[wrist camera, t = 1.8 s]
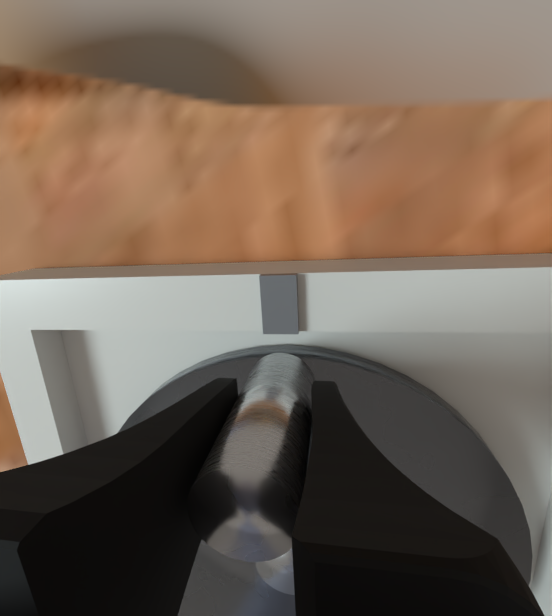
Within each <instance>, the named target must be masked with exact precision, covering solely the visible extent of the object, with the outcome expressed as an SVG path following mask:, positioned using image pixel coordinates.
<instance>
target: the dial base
mask: <svg viewBox="0 0 552 616" xmlns="http://www.w3.org/2000/svg"><path fill="white" fill-rule="evenodd" d="M277 345H293V346H308V347H319V348H324V349H330V350H335V351H340V352H346V353H349V354H353V355H356V356H359V357H362V358H365V359H369V360H372V361H375V362H378V363H380V364H382V365H385V366H387V367H389V368H391V369H394V370H396V371H398V372H400V373H402V374H405V375H407V376H409V377H410V378H412V379H413V380H415V381H417V382H418V383H420V384H422V385H423V386H425V387H427V388H428V389H430V390H432V391H433V392H435V393H436V394H437V395H438V396H440V397H441V398H442V399H443V400H445V401H446V402H447V403H448V404H450V405H451V406H452V407H453V408H455V409H456V410H457V411H458V412H459V413H460V414H461V415H462V416H463V417H464V418H465V419H466V420H467V421H468V422H469V423H470V424H471V425H472V427H473V428H474V429H475V430H476V431H477V432H478V433H479V434H480V436H481V437H482V439H483V440H484V441H485V443H486V444H487V446H488V447H489V448H490V450H491V451H492V453H493V454H494V456H495V457H496V459H497V460H498V462H499V463H500V465H501V466H502V468H503V470H504V471H505V473H506V474H507V476H508V477H509V479H510V481H511V483H512V485H513V487H514V489H515V491H516V493H517V495H518V497H519V499H520V501H521V503H522V505H523V509H524V512H525V516H526V519H527V522H528V526H529V529H530V536H531V546H532V555H533V557H532V568H531V580H530V583H529V588H530V589H531V591H532V593H533V594H534V596H535V598H536V600H537V602H538V604H539V606H540V608H541V610H542V612H543V614H544V616H552V253H539V254H506V255H472V256H439V257H405V258H372V259H338V260H305V261H271V262H238V263H204V264H170V265H137V266H103V267H70V268H36V269H29V270H24V271H19V272H14V273H9V274H4V275H0V372H1V375H2V379H3V382H4V385H5V389H6V392H7V395H8V399H9V402H10V405H11V409H12V412H13V415H14V419H15V422H16V425H17V429H18V432H19V435H20V439H21V442H22V445H23V449H24V452H25V455H26V459H27V462H28V465H30V464H33V463H37V462H40V461H43V460H47V459H50V458H53V457H56V456H59V455H62V454H65V453H68V452H71V451H74V450H76V449H79V448H82V447H84V446H87V445H90V444H92V443H95V442H98V441H100V440H103V439H105V438H108V437H110V436H113V435H115V434H117V433H118V431H119V430H120V429H121V427H122V426H123V425H124V423H125V422H126V420H127V419H128V418H129V416H130V415H131V414H132V413H133V412H134V411H135V410H136V409H137V408H138V407H139V406H140V405H141V404H142V403H143V402H144V401H145V400H146V399H147V398H148V397H149V396H150V395H151V394H152V393H153V392H154V391H155V390H156V389H158V388H159V387H160V386H161V385H162V384H163V383H165V382H166V381H168V380H169V379H170V378H172V377H173V376H175V375H176V374H178V373H179V372H181V371H183V370H185V369H187V368H189V367H191V366H193V365H195V364H197V363H199V362H201V361H203V360H206V359H209V358H212V357H215V356H218V355H221V354H224V353H227V352H231V351H236V350H241V349H247V348H252V347H260V346H277Z"/></svg>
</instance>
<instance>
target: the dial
mask: <svg viewBox="0 0 552 616" xmlns="http://www.w3.org/2000/svg"><path fill="white" fill-rule="evenodd" d="M217 378H237V387H238V398H237V400H236V402H235V404H234V406H233V408H232V409H231V411H230V413H229V415H228V417H227V419H226V421H225V423H224V425H223V427H222V429H221V431H220V433H219V435H218V437H217V439H216V441H215V443H214V445H213V447H212V449H211V451H210V453H209V454H208V456H207V458H206V460H205V462H204V464H203V466H202V468H201V470H200V472H199V474H198V476H197V478H196V480H195V482H194V484H193V486H192V488H191V490H190V492H189V494H188V499H187V513H188V517H189V520H190V522H191V524H192V526H193V528H194V530H195V531H196V533H197V534H198V535H199V536H200V538H201V539H202V540H201V542H200V545H199V548H198V551H197V554H196V557H195V561H194V564H193V567H192V570H191V573H190V576H189V579H188V583H187V586H186V589H185V593H184V596H183V599H182V603H181V606H180V609H179V613H178V616H296V612H295V593H294V574H293V556H292V537H291V536H292V532H293V529H294V525H295V521H296V517H297V513H298V510H299V506H300V502H301V498H302V493H303V488H304V483H305V478H306V473H307V467H308V462H309V456H310V449H311V443H312V402H311V388H312V384H313V381H334V382H335V383H336V384H337V387H338V390H339V392H340V395H341V397H342V399H343V401H344V403H345V404H346V406H347V408H348V409H349V411H350V413H351V414H352V416H353V417H354V419H355V420H356V422H357V423H358V425H359V426H360V427H361V429H362V430H363V431H364V433H365V434H366V435H367V437H368V438H369V439H370V440H371V442H372V443H373V444H374V445H375V446H376V447H377V448H378V450H379V451H380V452H381V453H382V454H383V455H384V456H385V457H386V458H387V459H388V460H389V461H390V462H391V463H392V464H393V465H394V466H395V467H396V468H397V469H398V470H400V471H401V472H402V473H403V474H404V475H405V476H407V477H408V478H409V479H410V480H411V481H412V482H414V483H415V484H416V485H417V486H419V487H420V488H421V489H422V490H424V491H425V492H426V493H428V494H429V495H431V496H432V497H433V498H435V499H436V500H438V501H439V502H440V503H442V504H443V505H444V506H446V507H447V508H449V509H450V510H452V511H453V512H455V513H457V514H458V515H460V516H462V517H463V518H465V519H466V520H468V521H470V522H471V523H473V524H474V525H476V526H478V527H479V528H481V529H483V530H484V531H486V532H487V533H489V534H491V535H492V536H494V537H496V538H497V539H498V540H499V541H500V542H501V544H502V545H503V547H504V549H505V550H506V552H507V553H508V555H509V556H510V558H511V559H512V561H513V562H514V564H515V565H516V567H517V568H518V570H519V572H520V573H521V575H522V576H523V578H524V580H525V581H526V583H527V584H528V586H529V583H530V580H531V568H532V557H533V555H532V546H531V536H530V529H529V526H528V522H527V519H526V516H525V512H524V509H523V505H522V503H521V501H520V499H519V497H518V495H517V493H516V491H515V489H514V487H513V485H512V483H511V481H510V479H509V477H508V476H507V474H506V473H505V471H504V470H503V468H502V466H501V465H500V463H499V462H498V460H497V459H496V457H495V456H494V454H493V453H492V451H491V450H490V448H489V447H488V446H487V444H486V443H485V441H484V440H483V439H482V437H481V436H480V434H479V433H478V432H477V431H476V430H475V429H474V428H473V427H472V425H471V424H470V423H469V422H468V421H467V420H466V419H465V418H464V417H463V416H462V415H461V414H460V413H459V412H458V411H457V410H456V409H455V408H453V407H452V406H451V405H450V404H448V403H447V402H446V401H445V400H443V399H442V398H441V397H440V396H438V395H437V394H436V393H435V392H433V391H432V390H430V389H428V388H427V387H425V386H423V385H422V384H420V383H418V382H417V381H415V380H413V379H412V378H410V377H409V376H407V375H405V374H402V373H400V372H398V371H396V370H394V369H391V368H389V367H387V366H385V365H382V364H380V363H378V362H375V361H372V360H369V359H365V358H362V357H359V356H356V355H353V354H349V353H346V352H340V351H335V350H330V349H324V348H319V347H308V346H293V345H277V346H260V347H252V348H247V349H241V350H236V351H231V352H227V353H224V354H221V355H218V356H215V357H212V358H209V359H206V360H203V361H201V362H199V363H197V364H195V365H193V366H191V367H189V368H187V369H185V370H183V371H181V372H179V373H178V374H176V375H175V376H173V377H172V378H170V379H169V380H168V381H166V382H165V383H163V384H162V385H161V386H160V387H159V388H158V389H156V390H155V391H154V392H153V393H152V394H151V395H150V396H149V397H148V398H147V399H146V400H145V401H144V402H143V403H142V404H141V405H140V406H139V407H138V408H137V409H136V410H135V411H134V412H133V413H132V414H131V415H130V416H129V418H128V419H127V420H126V422H125V423H124V425H123V426H122V427H121V429H120V430H119V431H118V433H119V432H121V431H124V430H126V429H128V428H130V427H132V426H134V425H136V424H138V423H140V422H142V421H144V420H146V419H148V418H150V417H152V416H153V415H155V414H157V413H159V412H161V411H162V410H164V409H166V408H168V407H170V406H171V405H173V404H175V403H176V402H178V401H180V400H181V399H183V398H185V397H186V396H188V395H190V394H191V393H193V392H194V391H196V390H198V389H199V388H201V387H203V386H204V385H206V384H208V383H209V382H211V381H213V380H215V379H217Z"/></svg>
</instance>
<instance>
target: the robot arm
mask: <svg viewBox="0 0 552 616" xmlns="http://www.w3.org/2000/svg"><path fill="white" fill-rule="evenodd" d="M237 398H238V387H237V378H217V379H215V380H213V381H211V382H209V383H208V384H206V385H204V386H203V387H201V388H199V389H198V390H196V391H194V392H193V393H191V394H190V395H188V396H186V397H185V398H183V399H181V400H180V401H178V402H176V403H175V404H173V405H171V406H170V407H168V408H166V409H164V410H162V411H161V412H159V413H157V414H155V415H153V416H152V417H150V418H148V419H146V420H144V421H142V422H140V423H138V424H136V425H134V426H132V427H130V428H128V429H126V430H124V431H121V432H119V433H117V434H115V435H113V436H110V437H108V438H105V439H103V440H100V441H98V442H95V443H92V444H90V445H87V446H84V447H82V448H79V449H76V450H74V451H71V452H68V453H65V454H62V455H59V456H56V457H53V458H50V459H47V460H43V461H40V462H37V463H33V464H30V465H26V466H23V467H19V468H15V469H12V470H8V471H4V472H0V616H178V613H179V609H180V606H181V603H182V599H183V596H184V593H185V589H186V586H187V583H188V579H189V576H190V573H191V570H192V567H193V564H194V561H195V557H196V554H197V551H198V548H199V545H200V542H201V540H202V539H201V538H200V536H199V535H198V534H197V533H196V531H195V530H194V528H193V526H192V524H191V522H190V520H189V517H188V513H187V499H188V494H189V492H190V490H191V488H192V486H193V484H194V482H195V480H196V478H197V476H198V474H199V472H200V470H201V468H202V466H203V464H204V462H205V460H206V458H207V456H208V454H209V453H210V451H211V449H212V447H213V445H214V443H215V441H216V439H217V437H218V435H219V433H220V431H221V429H222V427H223V425H224V423H225V421H226V419H227V417H228V415H229V413H230V411H231V409H232V408H233V406H234V404H235V402H236V400H237ZM311 402H312V443H311V449H310V456H309V462H308V467H307V473H306V478H305V483H304V488H303V493H302V498H301V502H300V506H299V510H298V513H297V517H296V521H295V525H294V529H293V532H292V536H291V537H292V556H293V574H294V593H295V612H296V616H544V614H543V612H542V610H541V608H540V606H539V604H538V602H537V600H536V598H535V596H534V594H533V593H532V591H531V589H530V588H529V586H528V584H527V583H526V581H525V580H524V578H523V576H522V575H521V573H520V572H519V570H518V568H517V567H516V565H515V564H514V562H513V561H512V559H511V558H510V556H509V555H508V553H507V552H506V550H505V549H504V547H503V545H502V544H501V542H500V541H499V540H498V539H497V538H496V537H494V536H492V535H491V534H489V533H487V532H486V531H484V530H483V529H481V528H479V527H478V526H476V525H474V524H473V523H471V522H470V521H468V520H466V519H465V518H463V517H462V516H460V515H458V514H457V513H455V512H453V511H452V510H450V509H449V508H447V507H446V506H444V505H443V504H442V503H440V502H439V501H438V500H436V499H435V498H433V497H432V496H431V495H429V494H428V493H426V492H425V491H424V490H422V489H421V488H420V487H419V486H417V485H416V484H415V483H414V482H412V481H411V480H410V479H409V478H408V477H407V476H405V475H404V474H403V473H402V472H401V471H400V470H398V469H397V468H396V467H395V466H394V465H393V464H392V463H391V462H390V461H389V460H388V459H387V458H386V457H385V456H384V455H383V454H382V453H381V452H380V451H379V450H378V448H377V447H376V446H375V445H374V444H373V443H372V442H371V440H370V439H369V438H368V437H367V435H366V434H365V433H364V431H363V430H362V429H361V427H360V426H359V425H358V423H357V422H356V420H355V419H354V417H353V416H352V414H351V413H350V411H349V409H348V408H347V406H346V404H345V403H344V401H343V399H342V397H341V395H340V392H339V390H338V387H337V384H336V383H335V382H334V381H313V384H312V388H311Z"/></svg>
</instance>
